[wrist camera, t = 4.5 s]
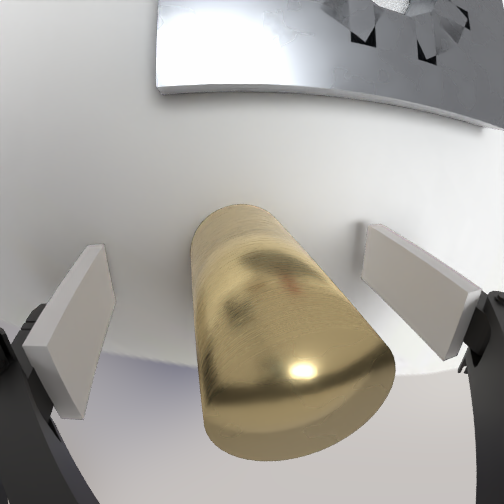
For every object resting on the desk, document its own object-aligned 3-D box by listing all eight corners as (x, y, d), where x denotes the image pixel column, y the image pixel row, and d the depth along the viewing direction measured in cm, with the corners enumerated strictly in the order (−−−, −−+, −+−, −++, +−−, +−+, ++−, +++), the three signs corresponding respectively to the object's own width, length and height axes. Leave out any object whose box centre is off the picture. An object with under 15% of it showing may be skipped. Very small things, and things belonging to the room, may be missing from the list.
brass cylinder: (194, 298, 15) (214, 471, 7) (187, 207, 13) (190, 348, 5) (285, 289, 16) (369, 437, 7) (288, 201, 14) (416, 312, 6)
